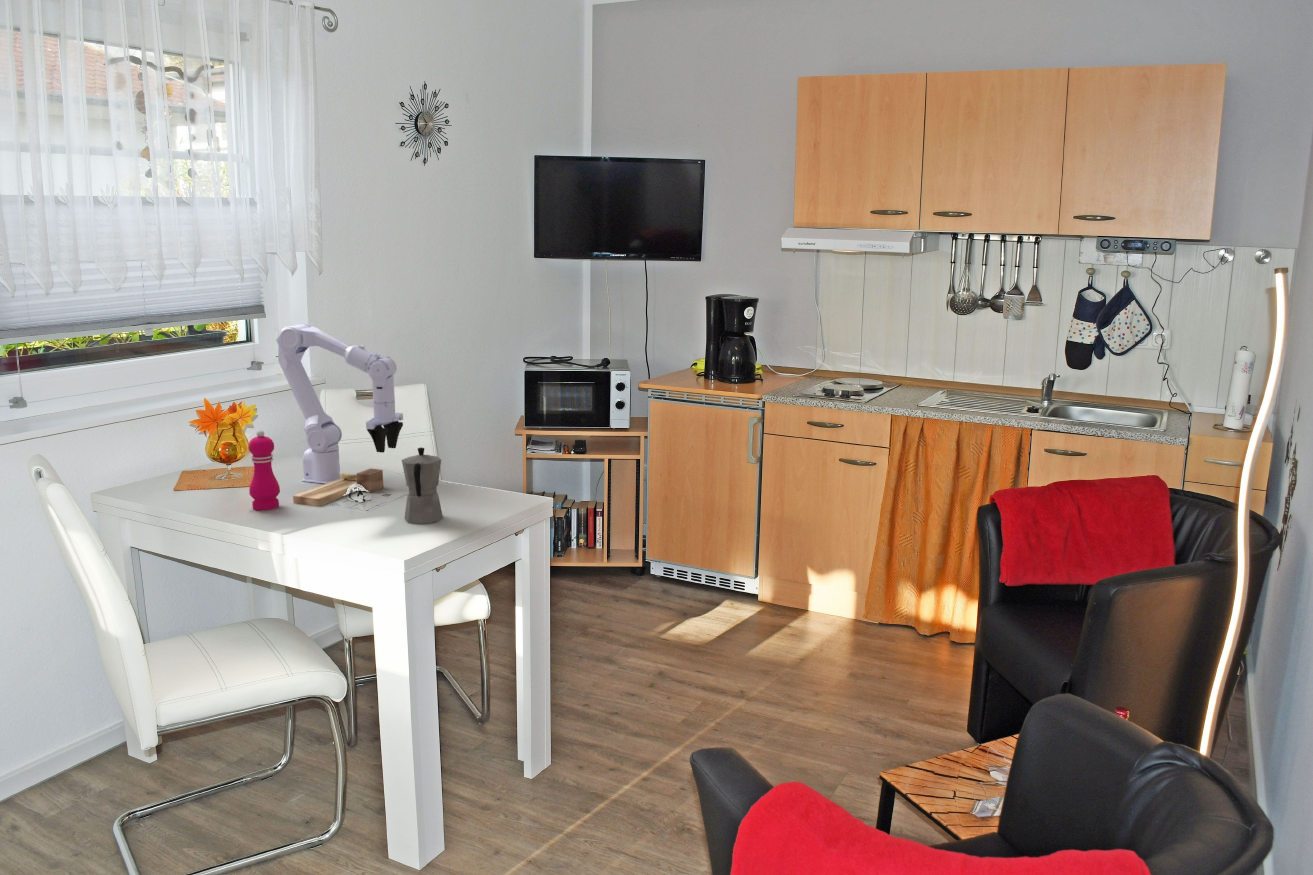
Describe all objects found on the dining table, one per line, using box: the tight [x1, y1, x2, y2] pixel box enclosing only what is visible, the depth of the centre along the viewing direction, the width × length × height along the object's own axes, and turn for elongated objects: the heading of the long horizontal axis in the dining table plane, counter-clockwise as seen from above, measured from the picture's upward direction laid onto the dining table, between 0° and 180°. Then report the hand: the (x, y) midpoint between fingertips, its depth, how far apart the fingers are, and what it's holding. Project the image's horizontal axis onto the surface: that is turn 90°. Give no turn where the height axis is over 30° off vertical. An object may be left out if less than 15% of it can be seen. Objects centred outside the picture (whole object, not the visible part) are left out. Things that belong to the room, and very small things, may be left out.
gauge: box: [340, 468, 384, 493], centre depth 267 cm, size 11×6×5 cm, turn 71°
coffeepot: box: [401, 447, 444, 525], centre depth 237 cm, size 15×9×18 cm, turn 6°
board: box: [292, 478, 357, 507], centre depth 261 cm, size 8×21×2 cm, turn 161°
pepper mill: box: [248, 429, 281, 512], centre depth 246 cm, size 7×7×20 cm
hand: (386, 450), depth 271 cm, fingers open, 5 cm apart
